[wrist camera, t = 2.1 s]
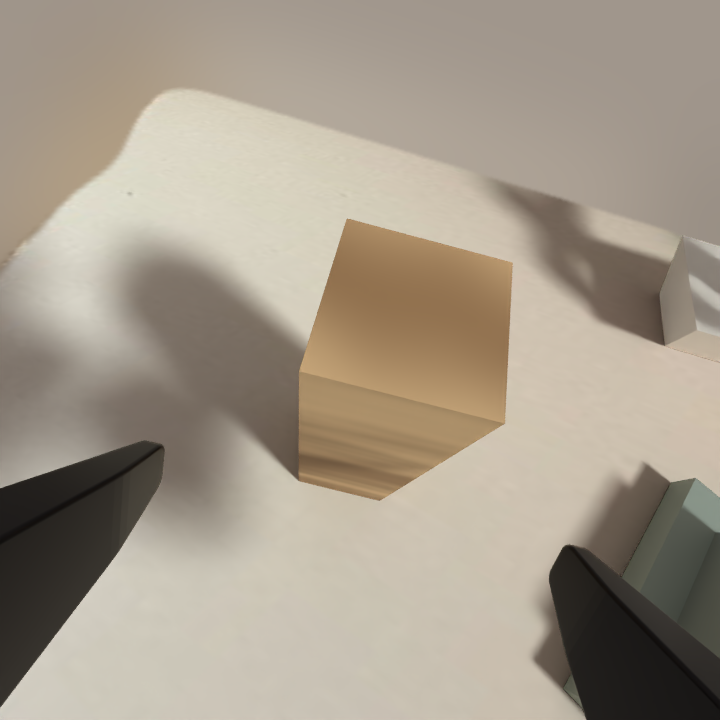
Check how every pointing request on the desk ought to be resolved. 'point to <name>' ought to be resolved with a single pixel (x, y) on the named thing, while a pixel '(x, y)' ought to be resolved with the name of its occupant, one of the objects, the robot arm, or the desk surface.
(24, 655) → the robot arm
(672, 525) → the socket holder
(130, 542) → the desk surface
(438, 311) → the oak stick
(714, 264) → the figurine
